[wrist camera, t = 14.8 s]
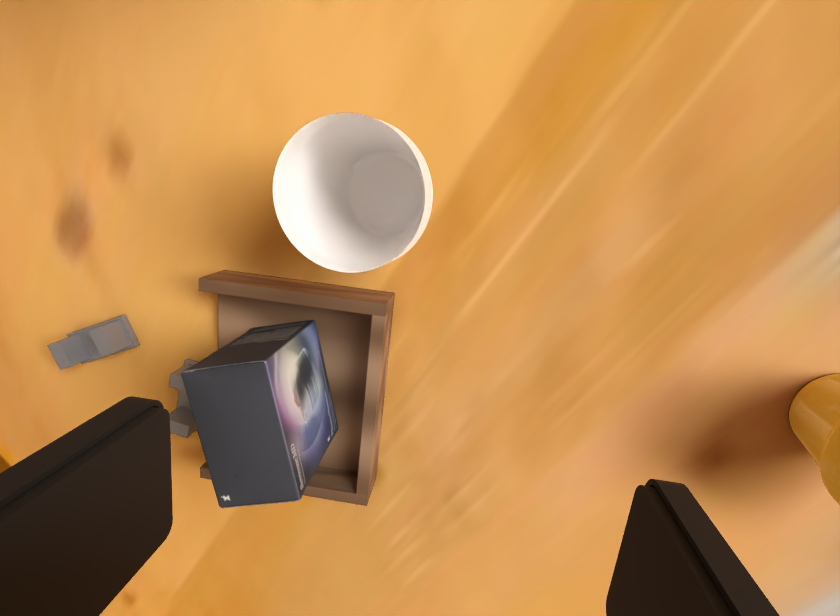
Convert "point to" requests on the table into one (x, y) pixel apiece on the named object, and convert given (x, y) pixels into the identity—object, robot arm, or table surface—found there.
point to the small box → (263, 413)
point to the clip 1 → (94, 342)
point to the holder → (343, 356)
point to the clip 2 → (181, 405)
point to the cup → (352, 192)
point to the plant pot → (820, 427)
